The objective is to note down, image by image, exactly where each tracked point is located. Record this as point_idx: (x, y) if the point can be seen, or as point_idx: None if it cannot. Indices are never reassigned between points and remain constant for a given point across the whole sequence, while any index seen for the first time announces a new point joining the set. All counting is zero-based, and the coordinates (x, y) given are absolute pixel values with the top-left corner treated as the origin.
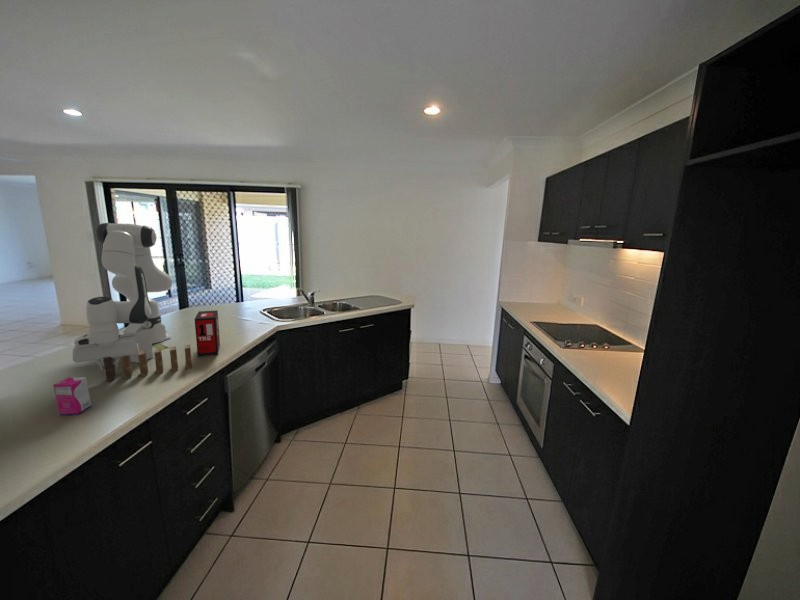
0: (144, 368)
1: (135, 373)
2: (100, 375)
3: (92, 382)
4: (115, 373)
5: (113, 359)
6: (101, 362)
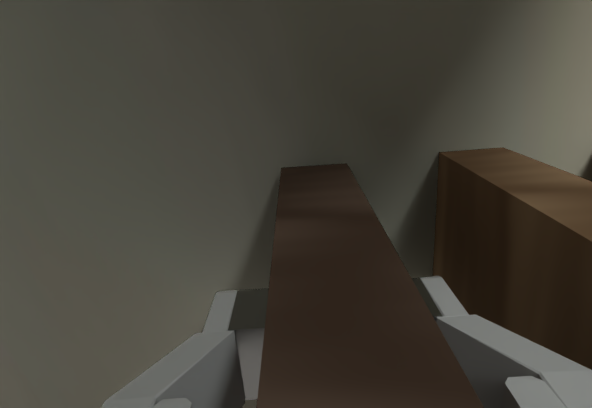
0: None
1: (532, 156)
2: (166, 50)
3: (162, 246)
4: (350, 173)
5: (408, 280)
6: (203, 374)
